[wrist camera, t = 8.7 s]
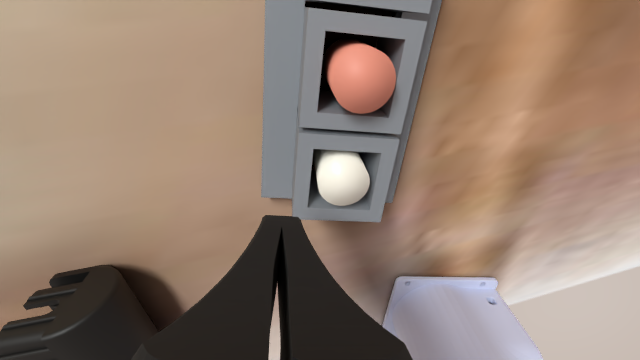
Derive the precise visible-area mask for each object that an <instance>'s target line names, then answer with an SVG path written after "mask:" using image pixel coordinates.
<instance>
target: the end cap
mask: <svg viewBox="0 0 640 360" xmlns="http://www.w3.org/2000/svg"><path fill="white" fill-rule="evenodd" d="M49 283H50V285H51V286H52V288H48V289H43V290H38V291H36V292H35V293H34V294H33V295H32V296H30V297H29V299H28V300H27V302H26V303H25V304H24V305H23V306H24V308H25V309H26V310H28V309H33V308H38V307H44V306H49V307H50V308H51V309H52V310H53V311H51V312H50V313H48V314H46V315H42V316H37V317H32V318H27V319H21V320H16V321H11V322H8V323H7V324H6V325H4V326H3V328H2V330H1V331H0V360H131V359H132V358H133V356H134V355H135V353H136V352H137V350H138V348H139V347H140V346H141V344H142V343H144V342H145V341H147V340H148V339H150V338H151V337H153V336H154V335H156V334H157V333H158V330H157V329H156V327H155V326H154V324H153V323H152V321H151V320H150V318H149V317H148V315H147V313H146V312H145V310H144V309H143V307H142V306H141V304H140V303H139V301H138V300H137V298H136V296H135V295H134V293H133V292H132V290H131V289H130V287H129V286H128V284H127V283H126V281H125V280H124V278H123V276H122V275H121V273H120V272H119V271H118V270H117V269H115V268H113V267H111V266H109V265H99V266H94V267H88V268H83V269H78V270H73V271H67V272H62V273H58V274H56V275H54V276H53V277H52V279H51V280H50V282H49Z"/></svg>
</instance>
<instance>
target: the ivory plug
mask: <svg viewBox="0 0 640 360" xmlns="http://www.w3.org/2000/svg"><path fill="white" fill-rule="evenodd" d="M313 159H314V165H315V171H316V178H317V184H318V189H319V192H320V194H321V196H322V197H323V199H325V200H326V201H327V202H329V203H331V204H333V205H337V206H346V205H350V204H353V203H355V202H357V201H359V200H360V199H361V198H362V197H363V196H364V195H365V194H366V192H367V190H368V188H369V184H370V178H369V174H368V172H367V170H366V168H365V166H364V163H363V161H362V159H361V157H360V155H359V153H358V152H357V151H341V150H325V149H313Z"/></svg>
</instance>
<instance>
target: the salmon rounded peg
mask: <svg viewBox="0 0 640 360" xmlns="http://www.w3.org/2000/svg"><path fill="white" fill-rule="evenodd" d="M322 68H323V73H324V76H325V78H326V80H327V82H328V84H329V86H330V88H331V90H332V92H333V94H334V96H335V98H336V100H337V101H338V103H339V104H340V105H341V106H342V107H343V108H345V109H346V110H348V111H350V112H353V113H358V114H365V113H370V112H373V111H375V110H377V109H379V108H380V107H382V106H383V105H384V104H385V103H386V102H387V101H388V100H389V98H390V97H391V95H392V93H393V91H394V88H395V83H396V72H395V68H394V66H393V63H392V62H391V60H390V59H389V57H388V56H387V55H386V54H384V53H383V52H381V51H379V50H377V49H375V48H373V47H371V46H369V45H367V44H365V43H363V42H361V41H359V40H357V39H354V38H343V39H340V40H338V41H336V42H334V43H333V44H332V45H331V46H330V47H329V48H328V49H327V51H326V53H325V55H324V58H323V63H322Z"/></svg>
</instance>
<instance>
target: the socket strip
mask: <svg viewBox="0 0 640 360" xmlns="http://www.w3.org/2000/svg"><path fill="white" fill-rule="evenodd" d="M305 1H309V2H317V3H326V4H334V5H342V6H351V7H359V8H367V9H376V10H384V11H392V12H396V14H395V18H393V17H385V16H376V15H368V14H359V13H351V12H342V11H334V10H325V9H317V8H308V7H305ZM441 2H442V0H265V45H264V93H263V142H262V190H261V197H268V198H291V199H292V217H299V219H304V220H332V221H361V222H381V218H382V213H383V209H384V205H385V203H392V201H393V197H394V193H395V189H396V185H397V181H398V177H399V173H400V169H401V165H402V161H403V157H404V153H405V149H406V144H407V140H408V136H409V132H410V128H411V124H412V120H413V116H414V112H415V108H416V104H417V100H418V96H419V92H420V88H421V83H422V79H423V75H424V71H425V67H426V63H427V59H428V55H429V51H430V47H431V43H432V39H433V35H434V31H435V27H436V22H437V18H438V14H439V10H440V6H441ZM325 31H333V32H342V33H351V34H360V35H369V36H378V37H377V43H376V49H377V50H379V51H381V52H383V53H384V54H386V55H387V56H388V57H389V59H390V60H391V62H392V63H393V66H394V68H395V72H396V83H395V88H394V91H393V93H392V95H391V97H390V98H389V100H388V101H387V102H386V103H385V104H384V105H383V106H382V107H380V108H379V109H377V110H375V111H373V112H370V113H365V114H358V113H353V112H350V111H348V110H346V109H345V108H343V107H342V106H341V105H340V104H339V103H338V101H337V100H336V98H335V96H334V94H333V92H332V91H325V90H319V89H320V79H321V69H322V59H323V49H324V39H325ZM313 149H325V150H341V151H357V152H358V153H359V155H360V157H361V159H362V161H363V163H364V166H365V168H366V170H367V172H368V174H369V178H370V184H369V188H368V190H367V192H366V194H365V195H364V196H363V197H362V198H361V199H360V200H359V201H357V202H355V203H353V204H350V205H346V206H337V205H333V204H331V203H329V202H327V201H326V200H325V199H323V197H322V196H321V194H320V192H319V189H318V184H317V178H316V171H315V170H311V168H312V158H313Z"/></svg>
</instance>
